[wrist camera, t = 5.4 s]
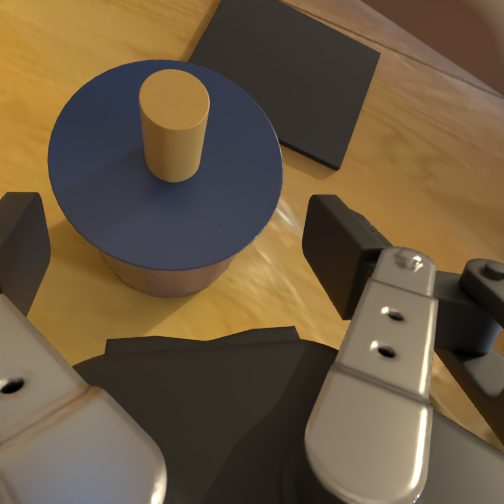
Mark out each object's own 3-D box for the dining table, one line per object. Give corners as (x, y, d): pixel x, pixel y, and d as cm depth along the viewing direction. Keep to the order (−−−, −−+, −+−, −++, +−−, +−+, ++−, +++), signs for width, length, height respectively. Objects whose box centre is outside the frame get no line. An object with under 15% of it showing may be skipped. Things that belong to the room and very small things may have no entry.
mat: (378, 57, 42) (381, 53, 42) (337, 171, 38) (340, 168, 37) (233, -17, 41) (234, -23, 40) (172, 92, 36) (172, 88, 36)
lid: (232, 56, 24) (253, -38, 18) (310, 233, 22) (361, 190, 17) (25, 98, 21) (-30, -2, 15) (95, 310, 19) (64, 290, 13)
